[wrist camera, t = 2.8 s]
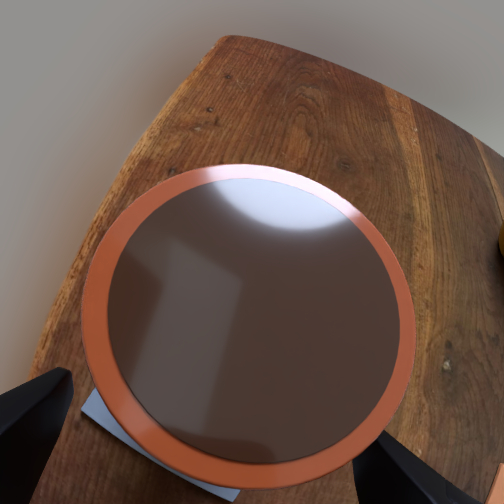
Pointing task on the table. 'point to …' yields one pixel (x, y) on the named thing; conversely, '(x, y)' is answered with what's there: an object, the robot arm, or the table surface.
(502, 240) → the apple
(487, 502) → the terracotta mat
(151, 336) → the terracotta pot
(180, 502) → the table surface
